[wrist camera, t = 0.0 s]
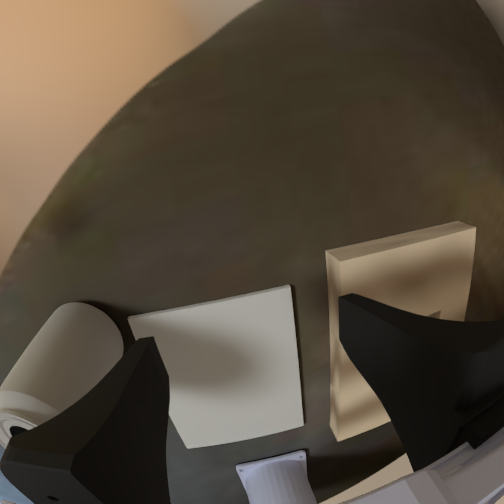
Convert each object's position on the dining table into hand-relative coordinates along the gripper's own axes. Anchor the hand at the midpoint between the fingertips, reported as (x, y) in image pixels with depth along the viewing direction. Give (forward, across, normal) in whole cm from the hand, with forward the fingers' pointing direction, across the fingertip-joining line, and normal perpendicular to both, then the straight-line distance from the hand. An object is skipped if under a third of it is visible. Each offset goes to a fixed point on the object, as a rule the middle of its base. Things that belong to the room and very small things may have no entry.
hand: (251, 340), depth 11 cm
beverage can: (+10, +12, +4) cm, 16 cm away
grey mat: (+10, +2, +11) cm, 15 cm away
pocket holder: (+10, -14, +11) cm, 20 cm away
